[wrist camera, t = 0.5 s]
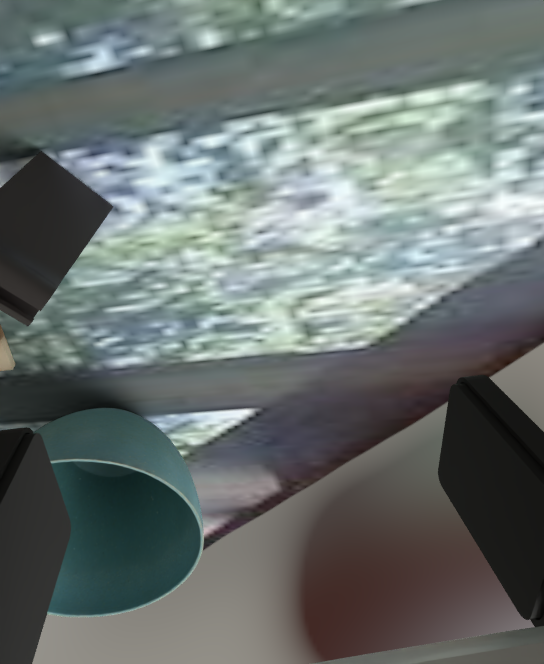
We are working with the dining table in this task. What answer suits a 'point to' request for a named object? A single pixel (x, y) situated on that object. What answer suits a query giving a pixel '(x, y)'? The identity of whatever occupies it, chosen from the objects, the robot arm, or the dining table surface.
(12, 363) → the board
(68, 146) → the dining table surface
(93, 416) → the plant pot
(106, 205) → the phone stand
